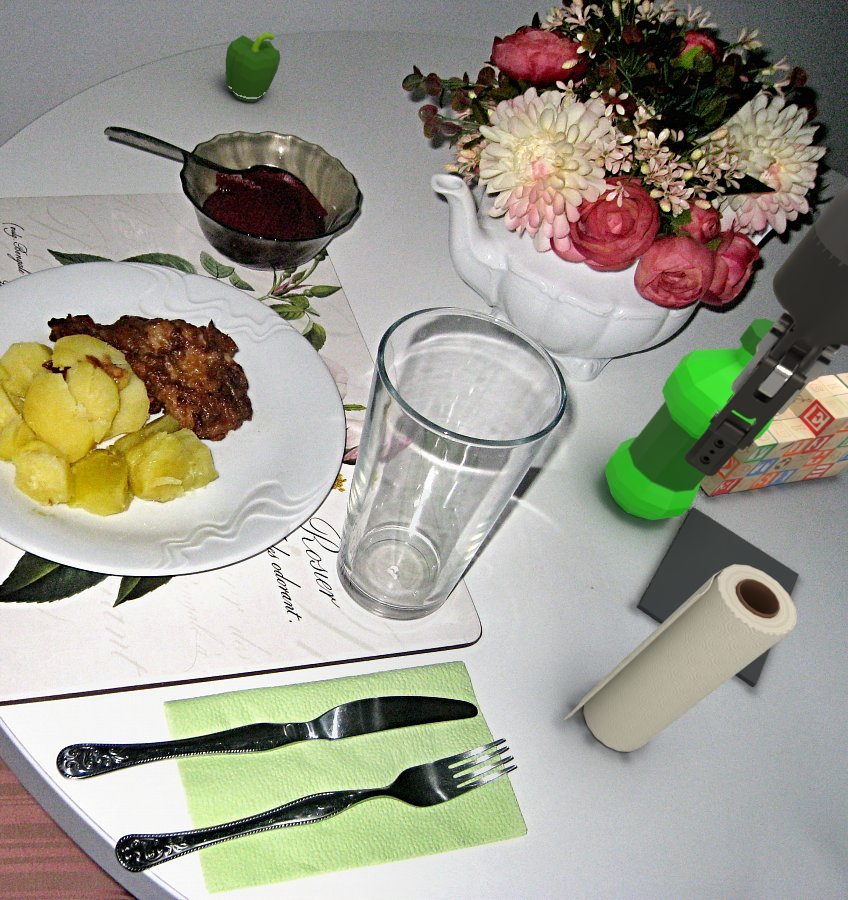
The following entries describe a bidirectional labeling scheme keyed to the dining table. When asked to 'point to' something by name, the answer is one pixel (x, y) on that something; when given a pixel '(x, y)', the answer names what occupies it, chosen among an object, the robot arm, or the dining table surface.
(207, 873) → the dining table surface
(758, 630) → the paper towel roll
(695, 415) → the plastic bottle
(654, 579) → the mat
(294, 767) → the dining table surface
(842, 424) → the stack of blocks
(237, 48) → the bell pepper
